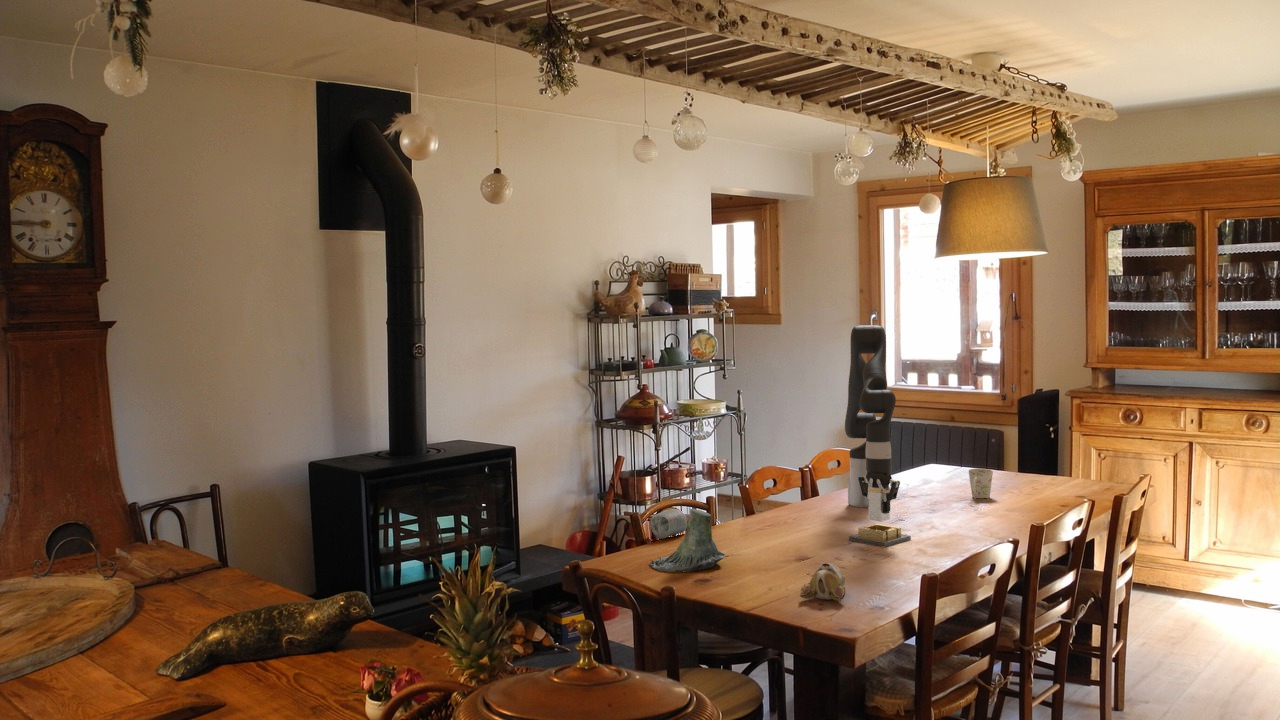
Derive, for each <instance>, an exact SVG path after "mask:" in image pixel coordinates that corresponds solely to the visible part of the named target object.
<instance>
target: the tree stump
mask: <svg viewBox="0 0 1280 720" xmlns="http://www.w3.org/2000/svg"><path fill="white" fill-rule="evenodd" d="M686 527H687V528H686V531H685V535H684V538H683V540H681V542H680V544H679V545H678V547H677V548H676V549H675V550H674V552H672V553H671V554H670V555H669V556H668V555H667V556H662V557H661V556H660V557H659V558H657V559H655V560H653V559H650V565H649V566H650V567H651V568H652V569H653V568H654V569H653V570H655V569H657V570H656V571H659V570H660V572H664V571H668V572H667V573H671V572H682V573H684V572H683V571H691V572H693V571H692V570H699V571H702V570H701V569H703V570H706V569H705V568H708V569H711V568H713V566H715V565H716V564H717V563H719V562H720V561H723V559H725V557H726V556H725V553H723V552H722V551H720V550H718V547H717V545H716V543H715V540H714V539H713V533H712V532H713V531H712V528H713V527H712V514H710V513H708V512H706V511H704V510H702V509H697V508H690V509H689V519H688V521H687V525H686ZM660 565H661V566H660Z"/></svg>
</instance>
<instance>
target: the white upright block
mask: <svg viewBox="0 0 1280 720" xmlns="http://www.w3.org/2000/svg"><path fill="white" fill-rule="evenodd" d="M887 489H888V488H886V489H884V490H885V491H886V490H887ZM886 496H887V494H886ZM868 501H869V508H868V521H875V522H881V523H882V522H885V521H888V520H889V521H890V519H891V516H890V515H891V514H890V512H891V511H890V512H889V513H887V514H884V513H883V501H884V500H883V494H882V488H878V487H868Z"/></svg>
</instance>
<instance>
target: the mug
mask: <svg viewBox="0 0 1280 720" xmlns="http://www.w3.org/2000/svg"><path fill="white" fill-rule="evenodd" d="M993 471H994V470H993V469H989V468H988V469H987V468H969V469H968V475H969V476H968V477H969V484H970V490H971V496H972V498H973V497H974V498H973V499H976V498H988V499H990V498H989V497H991V490H992V481H993V475H994V472H993Z"/></svg>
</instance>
